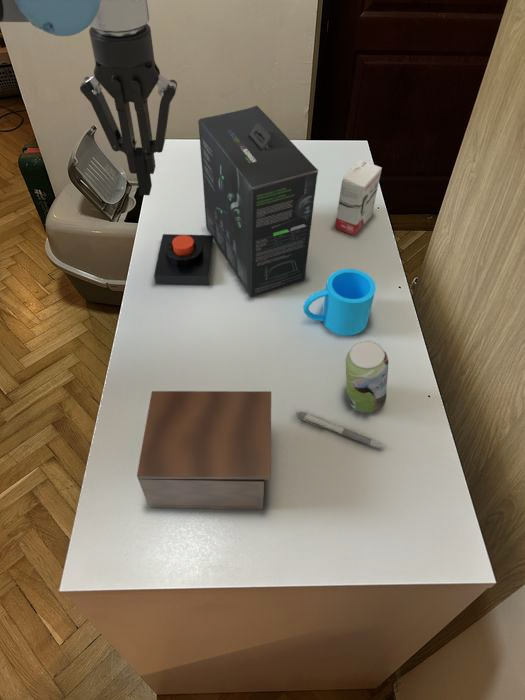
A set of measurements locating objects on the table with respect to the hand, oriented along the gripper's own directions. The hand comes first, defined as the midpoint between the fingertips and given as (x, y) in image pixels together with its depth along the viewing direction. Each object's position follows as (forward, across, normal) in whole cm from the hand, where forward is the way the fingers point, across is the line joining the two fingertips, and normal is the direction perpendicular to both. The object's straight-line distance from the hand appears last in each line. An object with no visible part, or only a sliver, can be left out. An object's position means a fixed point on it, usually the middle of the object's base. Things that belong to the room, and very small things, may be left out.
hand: (146, 190), depth 84 cm
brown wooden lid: (+11, -12, +37) cm, 41 cm away
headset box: (+20, -17, -9) cm, 28 cm away
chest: (+21, -12, +37) cm, 44 cm away
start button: (+17, -4, -6) cm, 18 cm away
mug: (+20, -32, +8) cm, 39 cm away
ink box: (+20, -38, -20) cm, 47 cm away
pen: (+21, -31, +31) cm, 48 cm away
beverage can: (+20, -35, +25) cm, 48 cm away
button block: (+20, -4, -6) cm, 22 cm away
